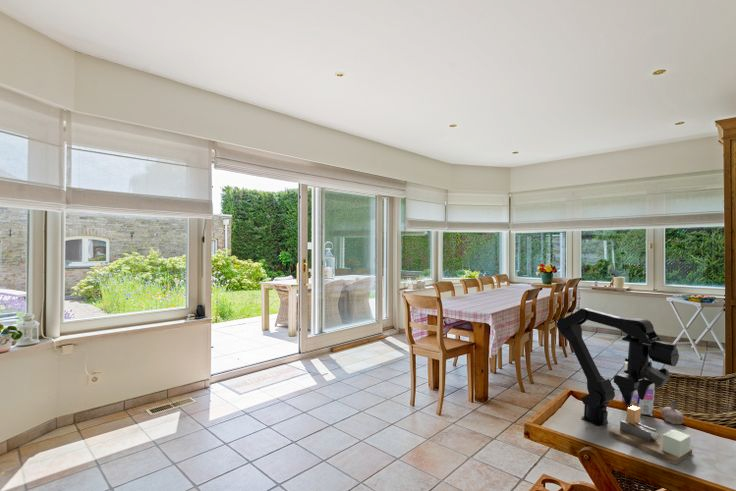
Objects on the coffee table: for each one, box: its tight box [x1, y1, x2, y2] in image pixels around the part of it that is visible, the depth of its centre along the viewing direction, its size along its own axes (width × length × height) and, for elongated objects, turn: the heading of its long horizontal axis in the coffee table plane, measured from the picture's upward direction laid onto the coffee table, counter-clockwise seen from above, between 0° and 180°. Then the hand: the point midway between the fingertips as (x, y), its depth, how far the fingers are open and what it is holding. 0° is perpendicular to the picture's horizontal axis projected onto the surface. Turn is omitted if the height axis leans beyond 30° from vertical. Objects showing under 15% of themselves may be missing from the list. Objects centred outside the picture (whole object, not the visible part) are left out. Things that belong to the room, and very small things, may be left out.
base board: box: [608, 425, 693, 465], centre depth 127 cm, size 19×12×2 cm, turn 31°
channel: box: [619, 420, 657, 442], centre depth 130 cm, size 9×4×3 cm, turn 31°
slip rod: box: [621, 405, 659, 440], centre depth 130 cm, size 10×4×8 cm, turn 31°
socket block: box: [662, 428, 691, 457], centre depth 121 cm, size 4×7×5 cm, turn 121°
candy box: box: [621, 361, 656, 417], centre depth 154 cm, size 14×6×16 cm, turn 168°
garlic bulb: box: [661, 399, 685, 425], centre depth 144 cm, size 8×7×8 cm
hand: (634, 402), depth 131 cm, fingers open, 9 cm apart
